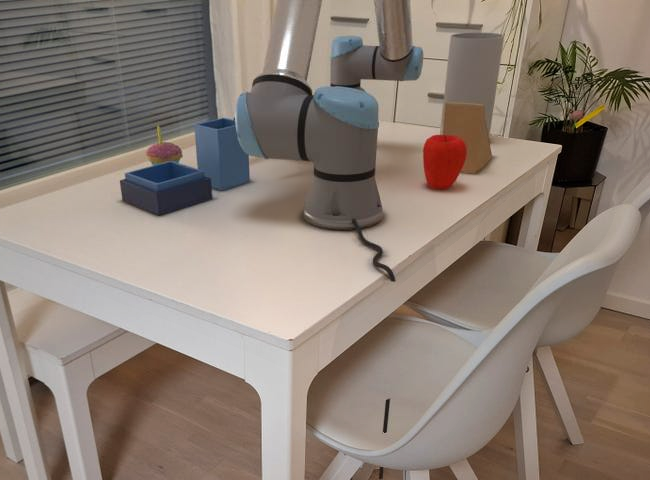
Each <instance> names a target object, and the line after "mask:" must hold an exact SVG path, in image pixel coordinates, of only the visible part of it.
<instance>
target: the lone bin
mask: <svg viewBox="0 0 650 480" xmlns="http://www.w3.org/2000/svg"><path fill="white" fill-rule="evenodd" d="M193 128H194V140H195V153H196V165H197V169H199V170H202V171H204V172H205V176H206V177H209V178H211V186H212V189H215V190H218V191H220V192H221V191H225V190H227V189H228V190H229V189H232V188H235V187H238V186H241V185H244V184H247V183H250V181H251V177H250V176H251V175H250V156H249V155H247V154H246V153H245V152H244V151H243V149H242V148H241V146H240V143H239V141H238V137H237V132H236V125H235V120H234V119H232V118H228V117H219V118H215V119H212V120H206V121H203V122H199V123H195V124H194V125H193Z"/></svg>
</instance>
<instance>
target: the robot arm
mask: <svg viewBox="0 0 650 480" xmlns="http://www.w3.org/2000/svg"><path fill="white" fill-rule="evenodd" d="M322 4H323V0H276V3H275V7H274V12H273V18H272V23H271V27H270V33H269V38H268V43H267V49H266V53H265V58H264V64H263V68H262V69H263V70H262V73H259V74H258V75H256V76H255V77H254V78H253V80H252V82H251V83H252V84H251V88H250V92H249V91H245V92H241V93H240V94H239V96H238V98H237V99H236V103H235V110H234V113H235V114H234V117H233V120H235V125H236V132H237V137H238V141H239V143H240V146H241V148H242V149H243V151H244V152H245V153H246V154H247V155H249V157H255V158H263V159H264V160H270V159H271V160H272V159H273V160H288V161H301V162H312V163H313V165H312V166H313V172H312V173H313V174H312V176H313V177H312V181H311V183H310V186H309V189H308V193H307V196H306V200H305V202H304V204H303V219H304V220H305V221H306V222H307V223H309V224H311V225H312V226H315V227H318V228H322V229H326V230H335V231H337V230H338V231H351V230H355V231H356V232H357V235H358V237H359V239H360V241H361V242H362V244H364V245H365V246H368V247H370V248H373V249H375V250H376V251H377V253H376V254H375V255H374V256H373V258H372V264H373V265H374V266H375V267H377V268H379V269H381V270H384V271H385V272H386V273H387V274H388V277H389V279H390V282H392V283H394V282H396V278H395V274H394V272H393V270H392V269H391V268H390V267H389V266H388V265H387V264H385V263H381V262H379V261H378V260H379V259H380V258H381V257H382V255H383V253H384V250H383V248H382V247H381V246H380V245H379V244H376V243H374V242H371V241H369V240H368V239H366V237H364V234H363V231H362V229H365V228H369V227H372V226H374V225H376V224H377V223H379V222H380V221H381V220H382V218H383V203H382V200H381V196H380V192H379V188H378V185H377V180H376V165H377V152H378V151H377V150H378V136H379V135H378V133H379V127H380V121H379V103H378V100H377V98H375V96H373V95H372V94H371V93H369V92H367V91H366V90H365V89H364V88H363V87H361V83H362V80H366V81H367V80H369V81H370V80H372V81H375V80H376V81H392V82H410V81H411V82H412V81H413V82H414V81H418V80H419V79H420V77H421V75H422V71H423V64H424V50H423V48H422V47H421V46H416V45H413V44H414V43H413V26H412V10H411V9H412V8H411V0H373V4H374V5H373V6H374V13H375V21H376V28H377V29H376V30H377V37H378V45H367V44H366V45H364V42H363V38H362V37H361V36H359V35H340V36H336V37H335V38H333V39H332V41H331V49H330V51H331V53H330V57H329V59H330V80H329V81H330V84H329V85H325V86H320V87H318V88H316V89H315V90H314V93H313V89H312V87H311V85H310V84H309V83H308V76H309V71H310V66H311V62H312V61H311V60H312V56H313V51H314V45H315V40H316V35H317V29H318V24H319V20H320V13H321V9H322ZM312 95H313V96H312ZM390 403H391V398H387V399H385V403H384V412H383V413H384V414H383V424H382V433H383V432H384V433H386V432H387V433H388V425H389V415H390V406H391V405H390ZM384 467H385V466H384ZM384 467H380V466H379V470H378V471H379V472H378V479H379V480H383V479H384Z"/></svg>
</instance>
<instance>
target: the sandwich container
mask: <svg viewBox="0 0 650 480" xmlns="http://www.w3.org/2000/svg"><path fill="white" fill-rule="evenodd" d="M443 135H451V136H456V137H459V138H461V139H463V140H464V141H465V144H466V147H467V155H466V160H465V163H464V165H463V168H462V170H461V172H460V173H462V174H463V173H464V174H471V175H475V174H476V173H477V172H478V171H480V170H481V169H483V167H484V166H485V165H486V164H487V163H488V162H489V161H490V160H492V159H493V153H492V148H491V142H490V135H489V136H488V130H487V124H486V117H485V107H484V105H482V104H471V103H454V102H447V103H446V106H445V116H444V126H443Z"/></svg>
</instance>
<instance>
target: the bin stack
mask: <svg viewBox="0 0 650 480" xmlns="http://www.w3.org/2000/svg"><path fill="white" fill-rule="evenodd" d="M119 185H120V186H119V187H120V193H121V200H122V202H124V203H126V204H129V205H131V206H134V207H136V208H139V209H141V210H144V211H147V212H148V213H151V214H154V215H156V216H158V217H159V216H163V215H166V214H169V213H173V212H176V211H178V210H183V209H185V208H188V207H191V206H194V205H197V204H200V203H204V202H206V201H210V200H213V188H212V186H211V178H209V177H206V176H205V172H204V171H202V170H199V169H198V168H195V167H193V166H190V165H186V164H183V163H181V162H179V163H177V162H173V161H169V162H165V163H161V164H157V165H154V166H153V165H151V166H146V167H142V168H138V169H134V170H132V171H128V172H125V173H124V178H123V179H119Z"/></svg>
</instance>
